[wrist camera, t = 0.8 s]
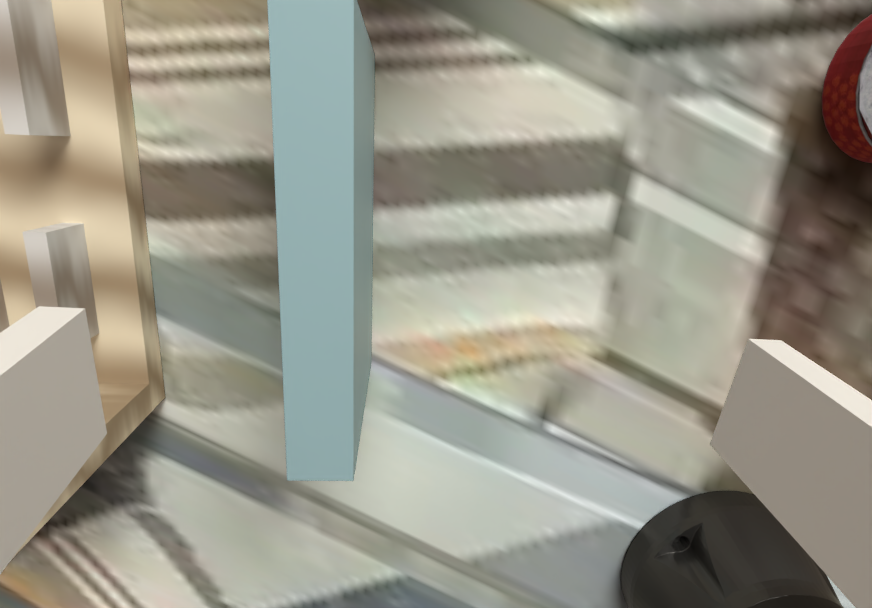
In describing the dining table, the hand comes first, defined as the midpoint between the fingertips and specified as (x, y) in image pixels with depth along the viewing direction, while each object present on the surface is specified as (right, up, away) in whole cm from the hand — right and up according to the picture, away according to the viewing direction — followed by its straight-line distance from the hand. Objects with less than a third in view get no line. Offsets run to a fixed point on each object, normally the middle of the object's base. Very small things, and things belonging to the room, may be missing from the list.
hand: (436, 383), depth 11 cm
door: (-6, +7, +24) cm, 26 cm away
